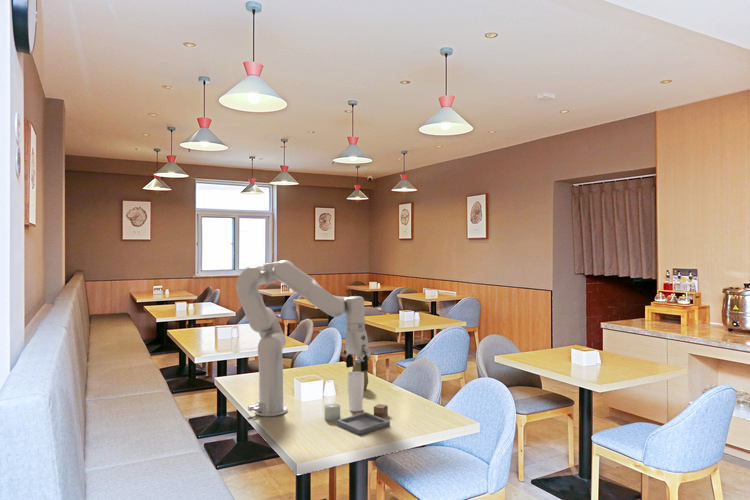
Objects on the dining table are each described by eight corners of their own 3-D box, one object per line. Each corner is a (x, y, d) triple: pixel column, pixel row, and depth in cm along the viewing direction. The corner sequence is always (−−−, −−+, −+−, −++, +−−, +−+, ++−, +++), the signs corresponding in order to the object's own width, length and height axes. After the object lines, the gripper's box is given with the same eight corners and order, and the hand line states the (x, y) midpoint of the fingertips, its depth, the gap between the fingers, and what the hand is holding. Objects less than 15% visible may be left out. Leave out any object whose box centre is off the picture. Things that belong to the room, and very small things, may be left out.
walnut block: (382, 418, 194) (382, 408, 194) (373, 416, 196) (373, 406, 196) (387, 415, 198) (387, 405, 198) (378, 413, 200) (378, 403, 200)
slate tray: (359, 435, 176) (359, 430, 176) (336, 424, 187) (336, 420, 187) (389, 426, 185) (389, 421, 185) (366, 416, 196) (366, 412, 196)
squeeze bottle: (371, 388, 236) (371, 350, 236) (362, 393, 229) (361, 353, 229) (357, 386, 240) (357, 348, 240) (347, 390, 233) (347, 351, 233)
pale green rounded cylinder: (330, 422, 190) (330, 409, 190) (321, 418, 195) (321, 405, 195) (343, 418, 194) (343, 406, 194) (334, 415, 198) (334, 402, 198)
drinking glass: (362, 413, 200) (361, 375, 200) (345, 412, 201) (345, 375, 202) (366, 408, 207) (365, 371, 207) (350, 407, 208) (349, 371, 208)
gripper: (376, 327, 200) (377, 370, 200) (350, 323, 213) (351, 364, 213) (361, 330, 195) (362, 374, 195) (335, 326, 208) (337, 367, 208)
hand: (357, 368), depth 204 cm, fingers open, 9 cm apart
